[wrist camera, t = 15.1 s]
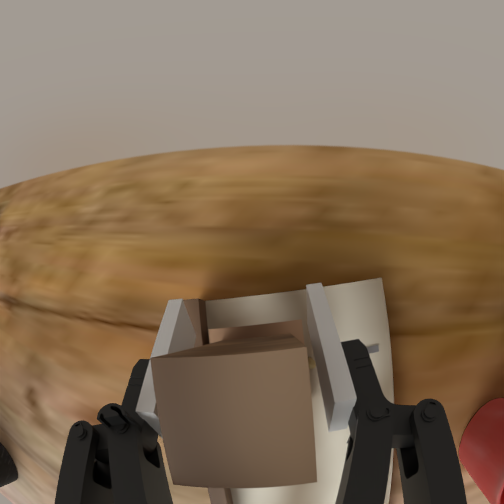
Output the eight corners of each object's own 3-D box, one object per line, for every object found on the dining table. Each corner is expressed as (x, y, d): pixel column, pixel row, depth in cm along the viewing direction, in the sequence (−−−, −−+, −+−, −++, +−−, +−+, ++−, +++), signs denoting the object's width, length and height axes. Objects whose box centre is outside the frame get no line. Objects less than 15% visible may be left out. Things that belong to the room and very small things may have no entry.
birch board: (373, 281, 21) (390, 273, 17) (373, 549, 13) (381, 568, 9) (197, 304, 22) (181, 300, 18) (241, 566, 14) (236, 586, 10)
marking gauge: (308, 318, 19) (353, 309, 7) (316, 400, 17) (362, 490, 6) (213, 328, 19) (124, 331, 8) (223, 409, 18) (156, 498, 6)
